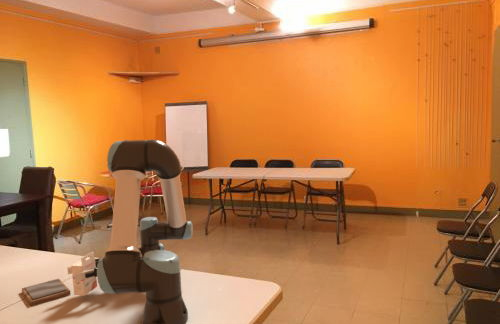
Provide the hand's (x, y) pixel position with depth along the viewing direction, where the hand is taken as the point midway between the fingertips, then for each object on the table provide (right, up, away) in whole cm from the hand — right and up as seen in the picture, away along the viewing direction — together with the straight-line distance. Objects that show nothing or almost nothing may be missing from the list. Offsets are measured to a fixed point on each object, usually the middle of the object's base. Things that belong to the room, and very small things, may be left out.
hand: (71, 274), depth 158 cm
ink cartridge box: (+4, -8, +4) cm, 9 cm away
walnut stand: (-14, -10, +8) cm, 18 cm away
